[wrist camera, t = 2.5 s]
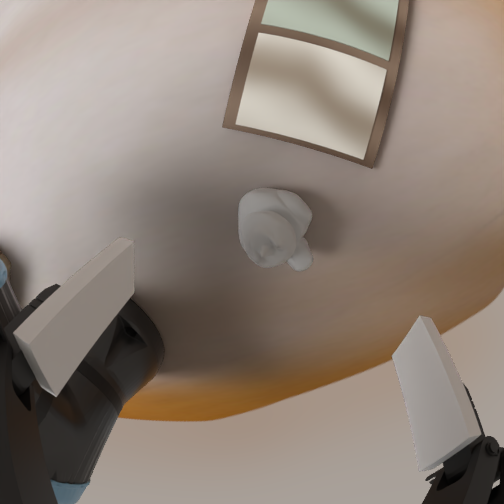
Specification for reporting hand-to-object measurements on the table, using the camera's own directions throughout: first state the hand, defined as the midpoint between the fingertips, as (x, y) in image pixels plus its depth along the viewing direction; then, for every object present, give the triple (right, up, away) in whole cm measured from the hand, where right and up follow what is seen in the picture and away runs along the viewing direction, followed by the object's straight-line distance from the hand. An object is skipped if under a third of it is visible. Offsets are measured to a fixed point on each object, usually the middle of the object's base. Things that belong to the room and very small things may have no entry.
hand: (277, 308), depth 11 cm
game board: (+5, +20, +2) cm, 21 cm away
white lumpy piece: (+1, +5, +10) cm, 12 cm away
